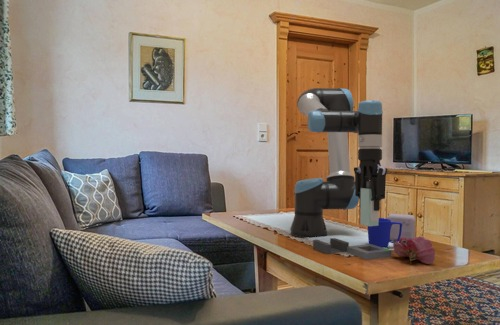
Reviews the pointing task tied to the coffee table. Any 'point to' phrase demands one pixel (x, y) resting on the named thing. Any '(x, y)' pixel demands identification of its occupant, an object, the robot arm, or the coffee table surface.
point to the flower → (415, 249)
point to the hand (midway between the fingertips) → (369, 219)
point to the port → (369, 251)
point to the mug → (382, 233)
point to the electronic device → (407, 226)
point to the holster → (331, 246)
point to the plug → (366, 206)
